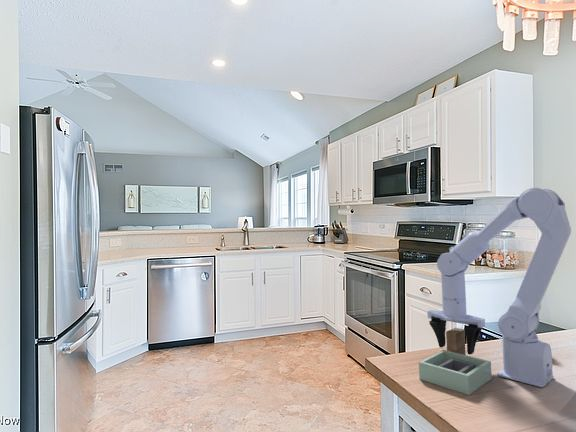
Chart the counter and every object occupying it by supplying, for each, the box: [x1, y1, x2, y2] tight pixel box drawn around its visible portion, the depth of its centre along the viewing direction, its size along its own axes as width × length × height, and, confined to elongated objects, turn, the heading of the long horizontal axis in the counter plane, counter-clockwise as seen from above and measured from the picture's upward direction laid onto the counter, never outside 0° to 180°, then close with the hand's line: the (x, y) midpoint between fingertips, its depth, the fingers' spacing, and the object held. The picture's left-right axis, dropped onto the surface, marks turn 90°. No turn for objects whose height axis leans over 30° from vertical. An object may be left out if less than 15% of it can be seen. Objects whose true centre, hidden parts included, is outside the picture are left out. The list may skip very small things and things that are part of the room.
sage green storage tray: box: [418, 349, 493, 396], centre depth 89 cm, size 12×12×4 cm
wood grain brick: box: [445, 327, 467, 356], centre depth 100 cm, size 2×5×8 cm, turn 130°
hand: (456, 349), depth 100 cm, fingers open, 7 cm apart
